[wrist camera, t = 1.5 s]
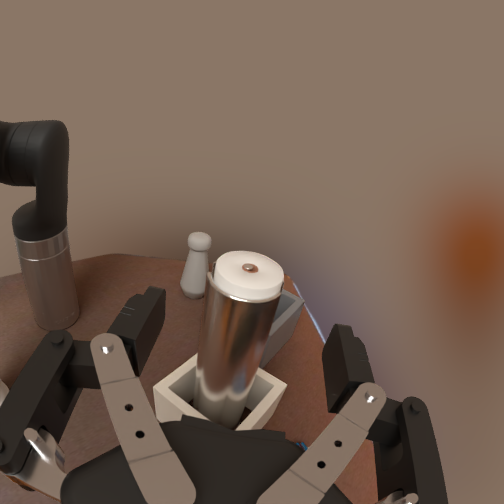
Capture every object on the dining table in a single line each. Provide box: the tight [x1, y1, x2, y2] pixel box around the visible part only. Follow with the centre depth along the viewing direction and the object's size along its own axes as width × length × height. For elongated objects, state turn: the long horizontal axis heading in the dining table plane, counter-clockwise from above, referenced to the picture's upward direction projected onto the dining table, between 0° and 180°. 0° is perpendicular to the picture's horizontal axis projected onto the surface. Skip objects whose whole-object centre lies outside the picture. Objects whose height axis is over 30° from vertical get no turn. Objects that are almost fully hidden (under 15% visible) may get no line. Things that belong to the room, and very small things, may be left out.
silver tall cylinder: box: [193, 251, 284, 430], centre depth 30 cm, size 6×6×25 cm
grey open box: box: [259, 289, 305, 369], centre depth 50 cm, size 11×11×8 cm
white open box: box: [153, 353, 287, 431], centre depth 35 cm, size 11×11×8 cm
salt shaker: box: [180, 232, 212, 299], centre depth 57 cm, size 6×6×13 cm
